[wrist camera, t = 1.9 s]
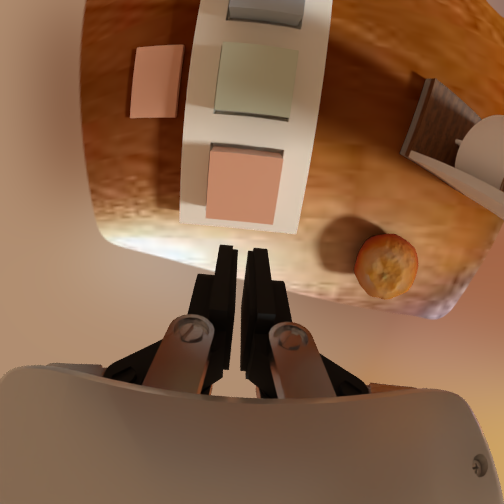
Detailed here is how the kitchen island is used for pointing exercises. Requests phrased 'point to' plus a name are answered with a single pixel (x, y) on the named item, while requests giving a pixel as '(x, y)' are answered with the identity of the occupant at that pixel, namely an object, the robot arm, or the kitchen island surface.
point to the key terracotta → (243, 185)
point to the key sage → (256, 79)
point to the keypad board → (252, 124)
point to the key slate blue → (268, 10)
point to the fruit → (386, 266)
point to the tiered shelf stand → (458, 146)
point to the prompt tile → (156, 81)
